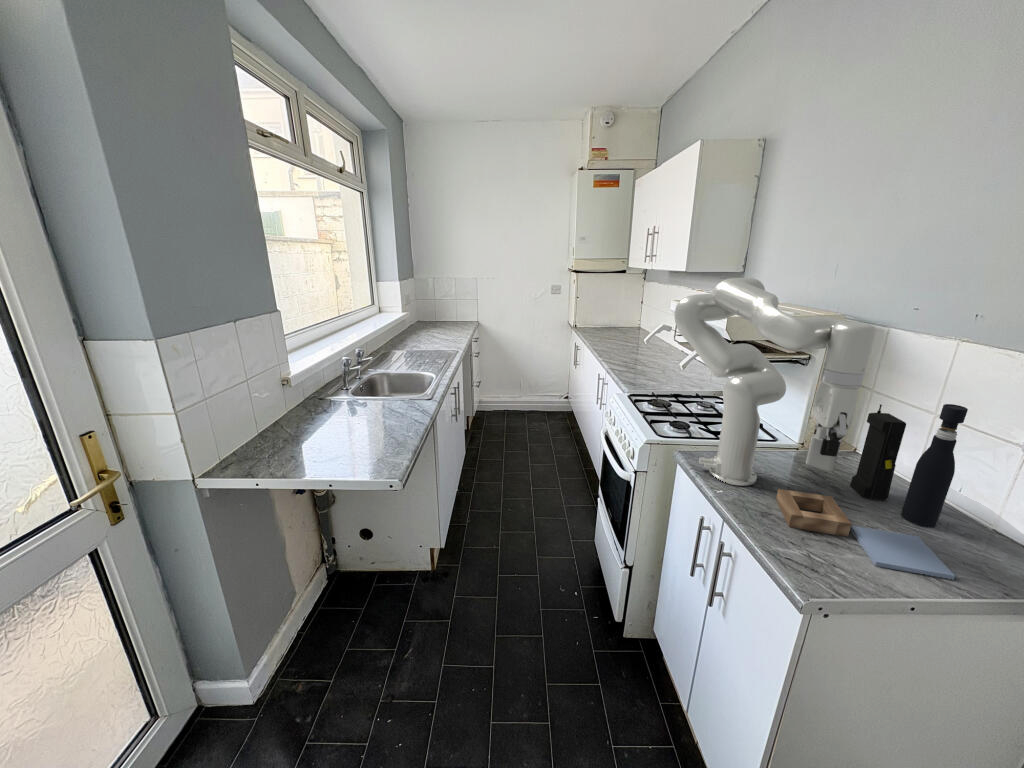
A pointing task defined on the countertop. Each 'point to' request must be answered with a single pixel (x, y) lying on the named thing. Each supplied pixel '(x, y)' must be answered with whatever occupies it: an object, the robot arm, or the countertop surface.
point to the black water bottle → (934, 471)
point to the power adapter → (814, 452)
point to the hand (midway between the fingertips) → (823, 449)
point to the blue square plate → (900, 552)
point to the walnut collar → (825, 522)
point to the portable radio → (878, 456)
